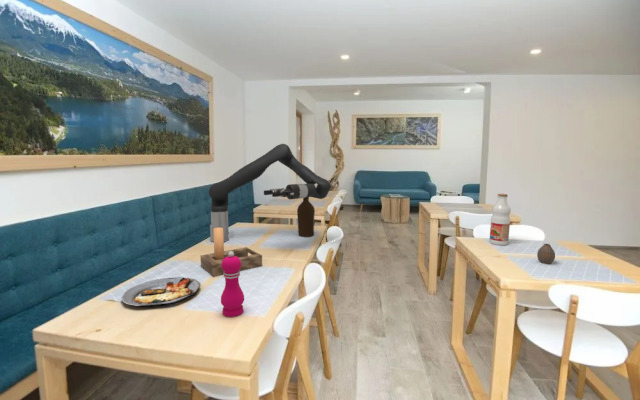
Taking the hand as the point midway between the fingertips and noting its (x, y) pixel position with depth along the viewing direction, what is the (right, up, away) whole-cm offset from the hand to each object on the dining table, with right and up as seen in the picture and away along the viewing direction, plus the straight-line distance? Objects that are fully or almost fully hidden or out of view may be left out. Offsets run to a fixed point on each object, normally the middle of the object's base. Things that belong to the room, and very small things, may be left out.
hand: (268, 193), depth 161 cm
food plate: (-31, -37, -41) cm, 63 cm away
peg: (-19, -33, -14) cm, 41 cm away
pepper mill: (-3, -39, -54) cm, 67 cm away
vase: (+130, -32, -4) cm, 134 cm away
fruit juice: (+126, -28, +29) cm, 132 cm away
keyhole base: (-15, -33, -11) cm, 37 cm away
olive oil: (+16, -25, +46) cm, 55 cm away
